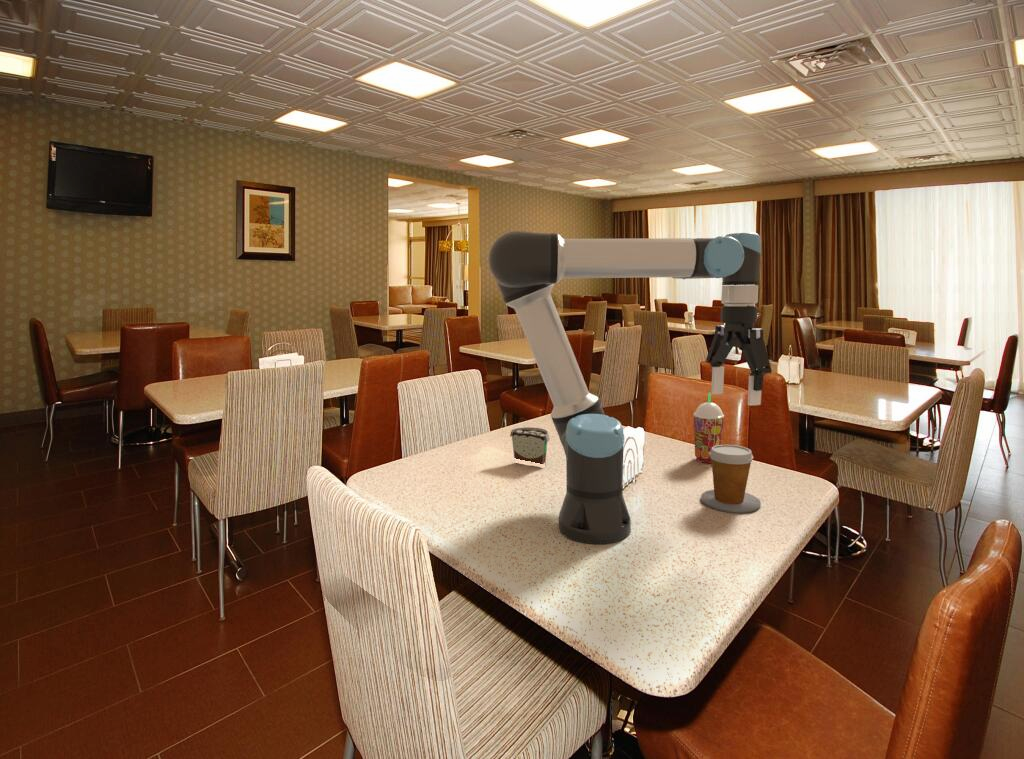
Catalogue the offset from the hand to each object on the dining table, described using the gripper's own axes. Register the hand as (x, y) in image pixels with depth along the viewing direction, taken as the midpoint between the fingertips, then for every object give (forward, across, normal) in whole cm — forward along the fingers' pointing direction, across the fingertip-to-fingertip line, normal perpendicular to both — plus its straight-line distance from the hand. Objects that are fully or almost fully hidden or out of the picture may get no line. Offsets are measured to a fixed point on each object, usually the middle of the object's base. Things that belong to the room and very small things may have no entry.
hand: (734, 399), depth 127 cm
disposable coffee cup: (+24, 0, 0) cm, 24 cm away
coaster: (+25, 0, 0) cm, 25 cm away
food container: (+25, +42, +36) cm, 61 cm away
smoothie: (+25, +30, -13) cm, 41 cm away
